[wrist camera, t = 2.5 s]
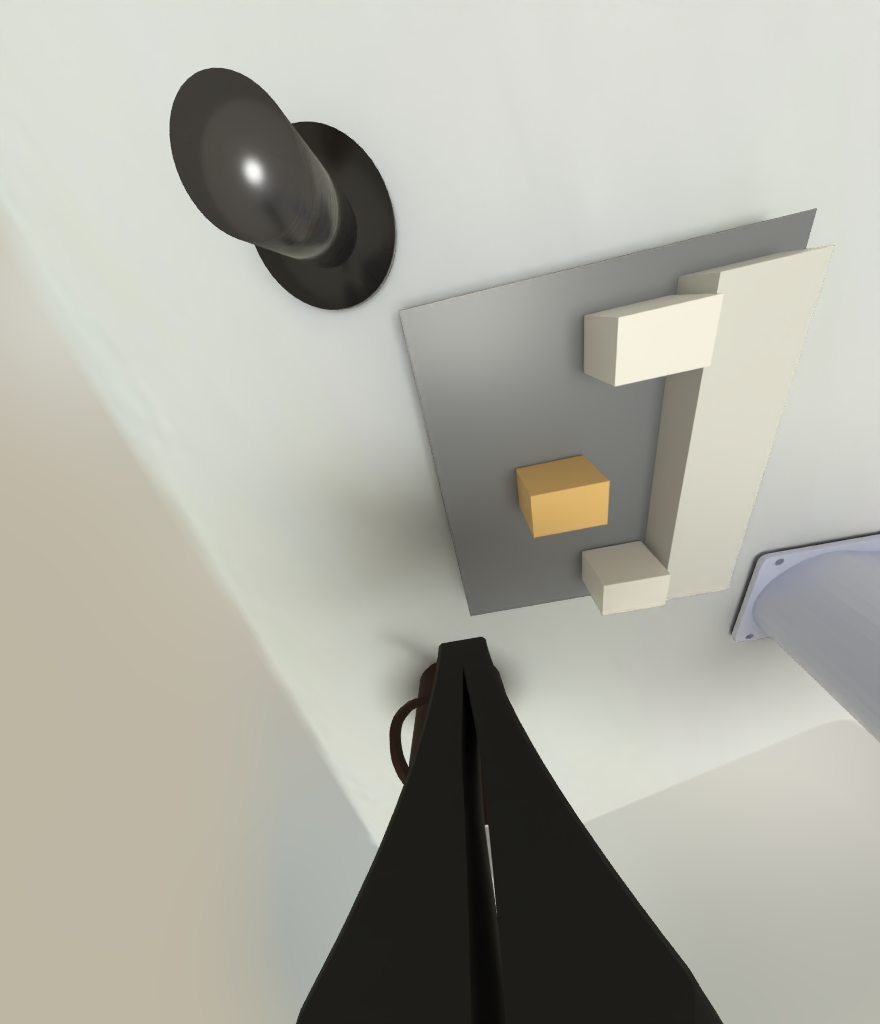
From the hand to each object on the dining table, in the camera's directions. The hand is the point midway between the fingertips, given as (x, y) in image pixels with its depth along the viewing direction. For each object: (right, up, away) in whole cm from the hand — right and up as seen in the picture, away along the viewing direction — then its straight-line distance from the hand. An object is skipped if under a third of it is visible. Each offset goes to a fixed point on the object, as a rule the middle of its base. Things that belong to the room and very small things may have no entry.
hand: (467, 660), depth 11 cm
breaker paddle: (+4, +6, +5) cm, 9 cm away
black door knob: (-5, +15, +2) cm, 16 cm away
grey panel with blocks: (+6, +7, +7) cm, 12 cm away
